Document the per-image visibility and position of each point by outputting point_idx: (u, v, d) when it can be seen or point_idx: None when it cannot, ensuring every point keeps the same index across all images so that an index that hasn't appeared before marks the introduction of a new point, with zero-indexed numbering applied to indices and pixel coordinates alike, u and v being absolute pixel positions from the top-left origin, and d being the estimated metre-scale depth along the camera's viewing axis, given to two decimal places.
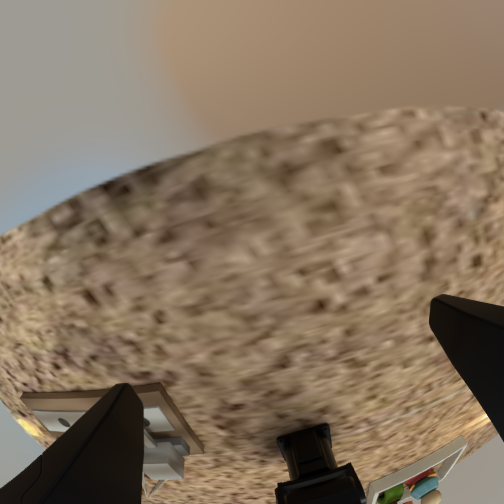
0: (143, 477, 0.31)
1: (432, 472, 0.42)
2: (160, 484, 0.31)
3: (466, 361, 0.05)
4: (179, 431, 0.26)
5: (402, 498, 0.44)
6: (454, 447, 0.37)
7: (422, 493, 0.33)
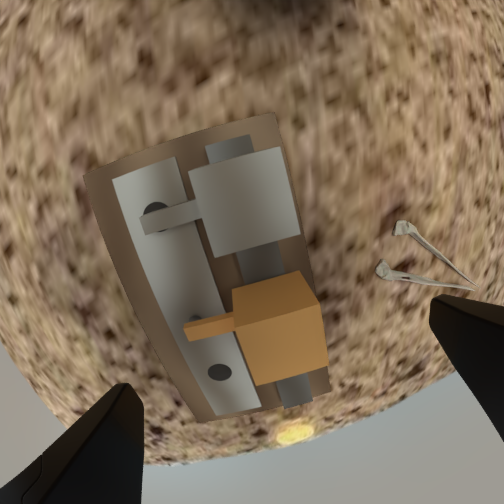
0: (408, 275, 0.20)
1: None
2: (429, 246, 0.19)
3: (466, 361, 0.05)
4: (186, 149, 0.15)
5: None
6: None
7: None
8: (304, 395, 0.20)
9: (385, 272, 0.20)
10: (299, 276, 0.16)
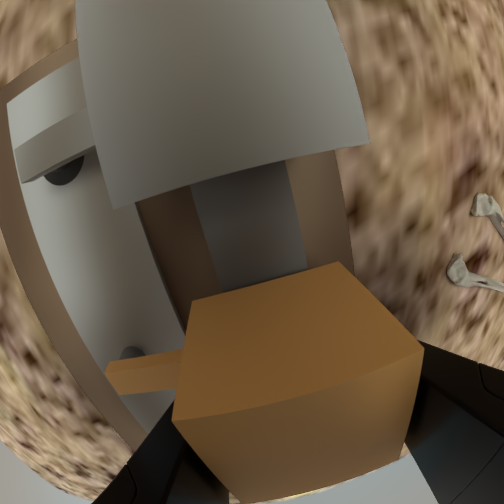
0: (485, 278, 0.11)
1: None
2: None
3: None
4: None
5: None
6: None
7: None
8: None
9: (460, 274, 0.11)
10: (343, 273, 0.07)
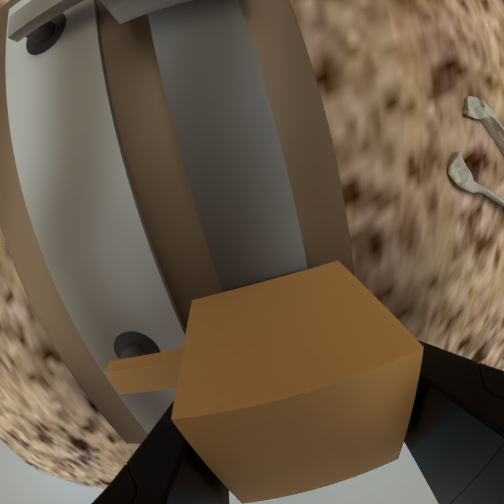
0: (491, 191, 0.10)
1: None
2: None
3: None
4: None
5: None
6: None
7: None
8: None
9: (463, 176, 0.09)
10: (342, 272, 0.07)
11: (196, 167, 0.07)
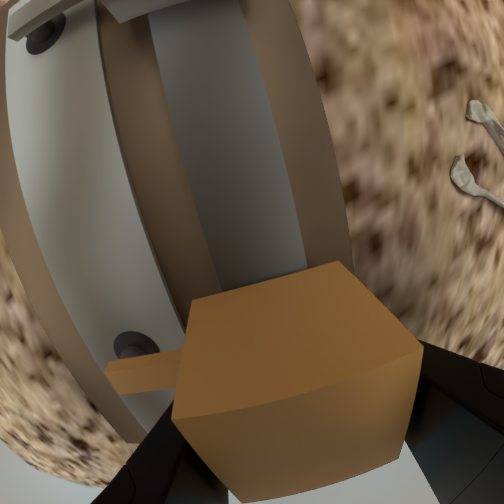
0: (492, 194, 0.10)
1: None
2: None
3: None
4: None
5: None
6: None
7: None
8: None
9: (465, 179, 0.10)
10: (342, 272, 0.07)
11: (196, 166, 0.07)
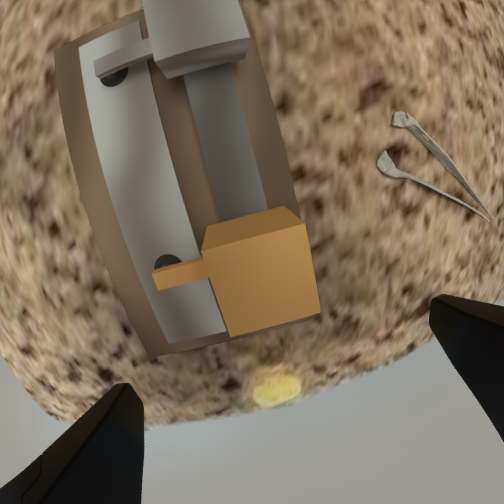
0: (415, 176, 0.17)
1: None
2: (434, 145, 0.16)
3: (466, 361, 0.05)
4: None
5: None
6: None
7: None
8: None
9: (388, 167, 0.17)
10: (284, 209, 0.14)
11: (210, 158, 0.14)
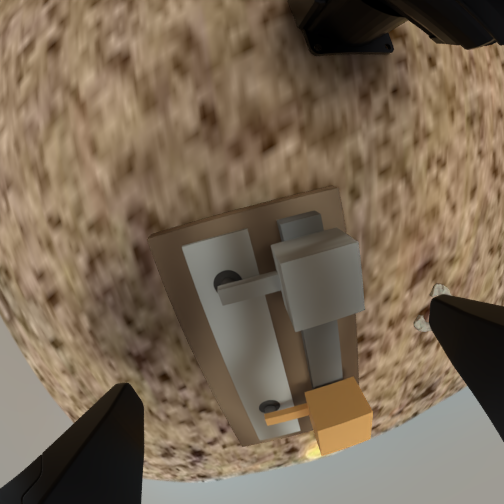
0: None
1: None
2: None
3: (466, 361, 0.05)
4: (258, 221, 0.17)
5: None
6: None
7: None
8: None
9: (421, 325, 0.22)
10: (354, 383, 0.19)
11: (311, 356, 0.19)
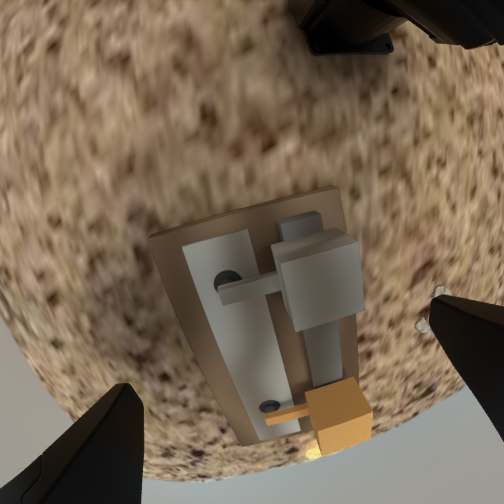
0: None
1: None
2: None
3: (466, 361, 0.05)
4: (258, 221, 0.17)
5: None
6: None
7: None
8: None
9: (423, 327, 0.22)
10: (354, 382, 0.19)
11: (312, 356, 0.19)
